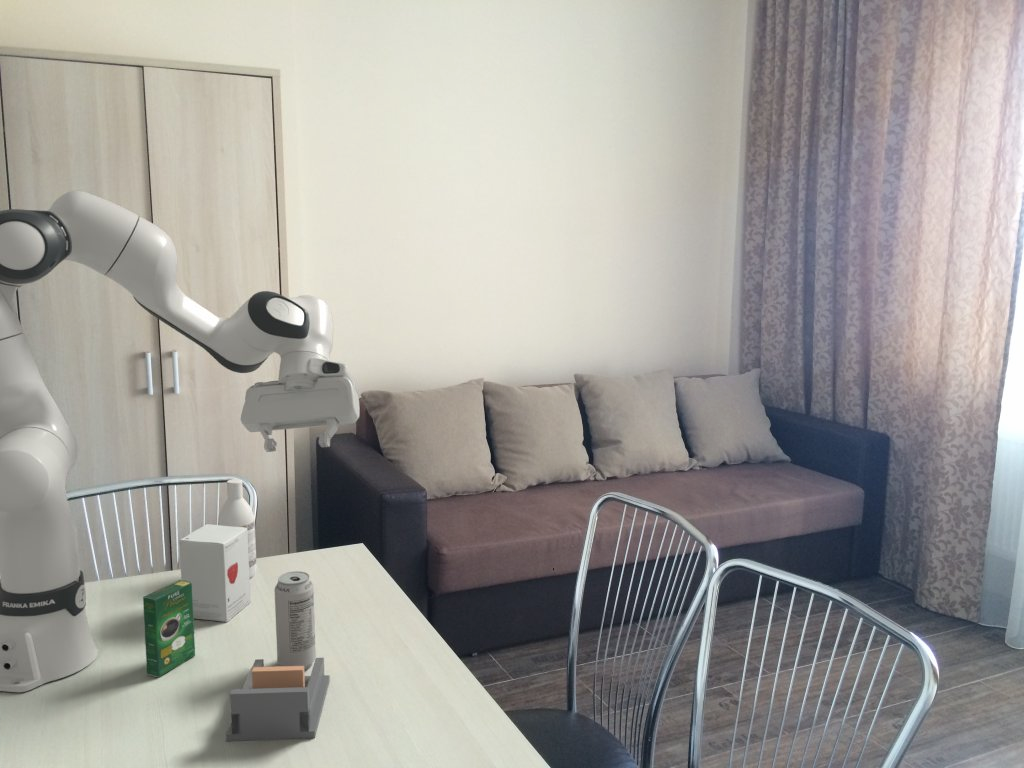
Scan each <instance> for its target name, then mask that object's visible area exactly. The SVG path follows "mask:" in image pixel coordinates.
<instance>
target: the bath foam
mask: <svg viewBox="0 0 1024 768" xmlns="http://www.w3.org/2000/svg"><path fill="white" fill-rule="evenodd" d="M226 492H227V493H226V494H227V495H226V496H227V499H226V501H225V502H224V504H223V505H222V508H221V509H220V511H219V514H218V519H217V521H218V523H217V525H221V526H232V527H244V528H247V530H248V555H249V578H250V579H252V578H253V577H254V576H256V574H257V572H258V568H257V549H256V548H257V546H256V543H257V542H256V529H255V528H256V525H255V524H256V523H255V522H256V521H255V520H256V519H255V516H254V515H255V514H254V512H253V509H252V507H251V506H250V504H249V503H248V502H247V501H246V499H245V498H244V497H243V496H244V493H243V480H242V479H239V478H233V479H228V480H227V481H226Z"/></svg>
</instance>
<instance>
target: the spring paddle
mask: <svg viewBox="0 0 1024 768" xmlns="http://www.w3.org/2000/svg"><path fill="white" fill-rule="evenodd" d="M305 676H306V675H305V670H304V666H280V665H279V666H264V667H254V668H253V670H252V686H253V689H261V688H295V687H305Z"/></svg>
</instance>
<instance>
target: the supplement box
mask: <svg viewBox="0 0 1024 768" xmlns="http://www.w3.org/2000/svg"><path fill="white" fill-rule="evenodd" d="M179 560H180V576H181V577H180V578H181V580H183V581H187V582H191V583H192V598H193V619H197V620H206V621H214V622H222V623H227V622H229V621H231V619H232V618H234V617H235V616H236V615H237V614H239V612H241V611H242V610H243V609H245V607H247V605H249V604H250V603H251V585H250V584H251V583H250V582H251V581H250V579H251V578H249V555H248V530H247V528H244V527H232V526H221V525H218V524H209V523H207V524H204V525H203V526H201V527H199V528H198V529H196V530H193V531H192V532H190V533H189V534H188V535H186V536H185V537H183V538H180V539H179Z"/></svg>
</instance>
